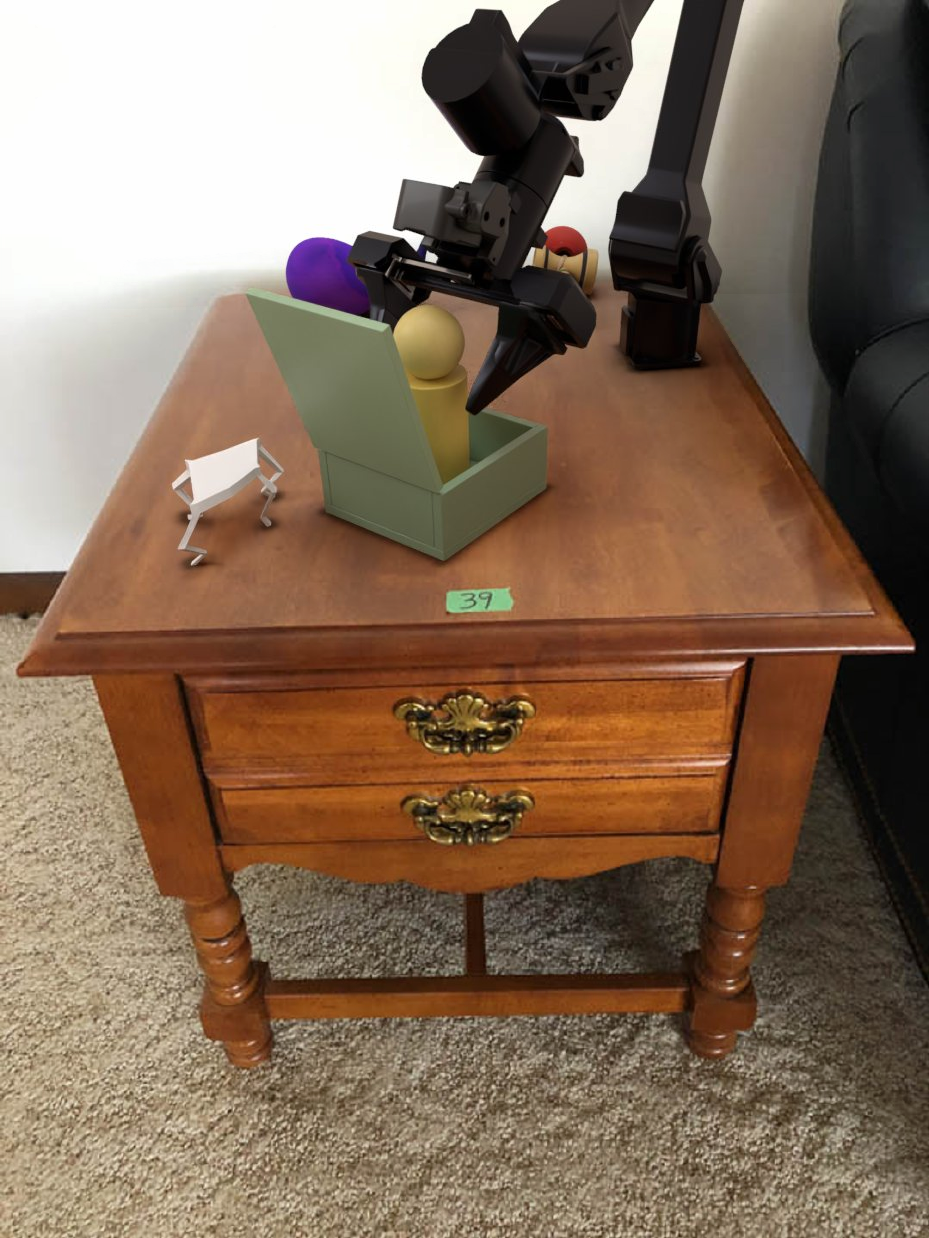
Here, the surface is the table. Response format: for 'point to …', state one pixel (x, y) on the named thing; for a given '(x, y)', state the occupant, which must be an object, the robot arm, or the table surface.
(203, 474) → the white legged piece
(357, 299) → the toy
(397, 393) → the chest lid
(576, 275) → the kendama
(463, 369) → the toy figure
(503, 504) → the chest
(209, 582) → the table surface
